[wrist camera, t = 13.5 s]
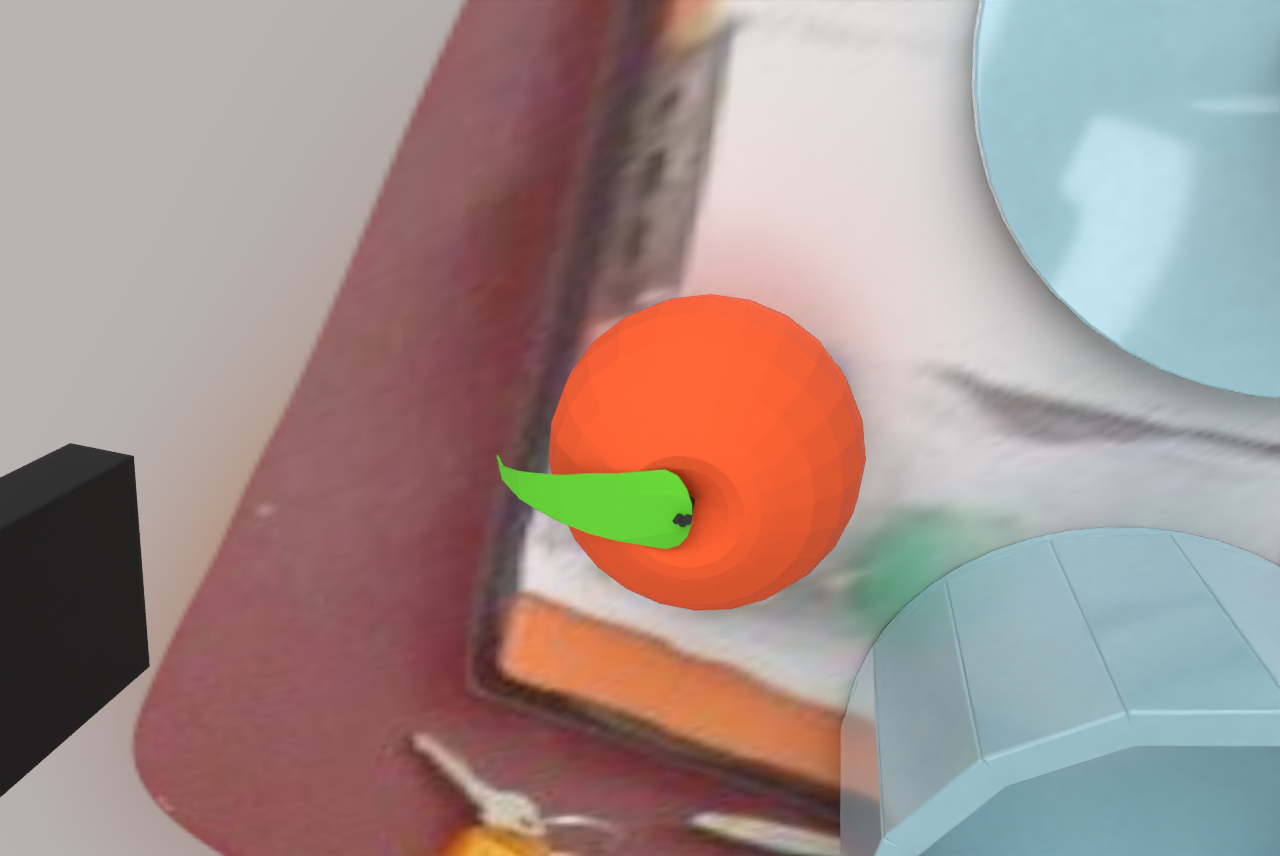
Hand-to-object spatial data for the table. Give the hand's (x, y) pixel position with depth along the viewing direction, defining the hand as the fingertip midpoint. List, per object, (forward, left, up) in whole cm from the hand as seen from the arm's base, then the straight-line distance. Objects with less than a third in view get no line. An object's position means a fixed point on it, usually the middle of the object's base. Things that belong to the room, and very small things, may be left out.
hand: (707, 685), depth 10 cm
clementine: (+2, +2, -15) cm, 15 cm away
